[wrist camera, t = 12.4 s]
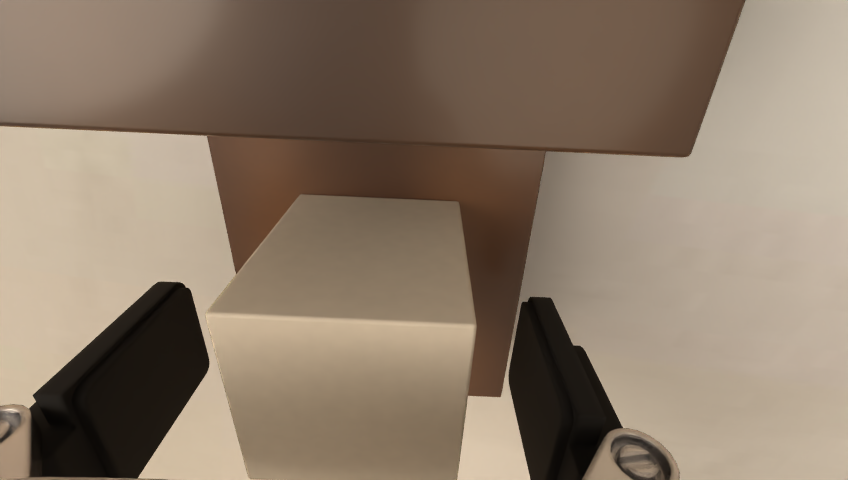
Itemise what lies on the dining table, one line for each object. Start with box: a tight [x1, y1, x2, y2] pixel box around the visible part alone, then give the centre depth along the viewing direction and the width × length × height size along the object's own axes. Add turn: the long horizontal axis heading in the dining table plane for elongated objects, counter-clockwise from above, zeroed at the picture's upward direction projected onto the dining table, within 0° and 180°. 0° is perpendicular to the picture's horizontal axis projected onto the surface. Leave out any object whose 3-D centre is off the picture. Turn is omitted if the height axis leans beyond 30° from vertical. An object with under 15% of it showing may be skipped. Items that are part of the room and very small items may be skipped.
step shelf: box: [0, 0, 745, 397], centre depth 11 cm, size 10×20×10 cm, turn 178°
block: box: [205, 194, 477, 480], centre depth 11 cm, size 5×5×6 cm
